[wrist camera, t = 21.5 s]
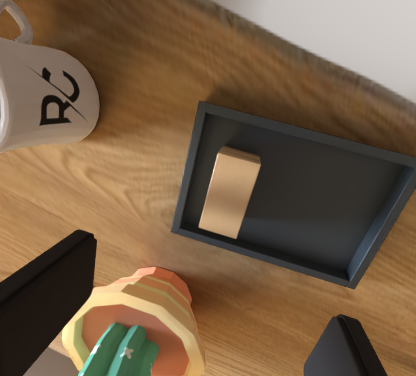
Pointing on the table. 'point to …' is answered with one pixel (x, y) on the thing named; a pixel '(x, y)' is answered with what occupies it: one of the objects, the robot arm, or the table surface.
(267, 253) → the tray
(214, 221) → the wooden block
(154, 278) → the potted cactus
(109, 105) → the table surface
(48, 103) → the mug
